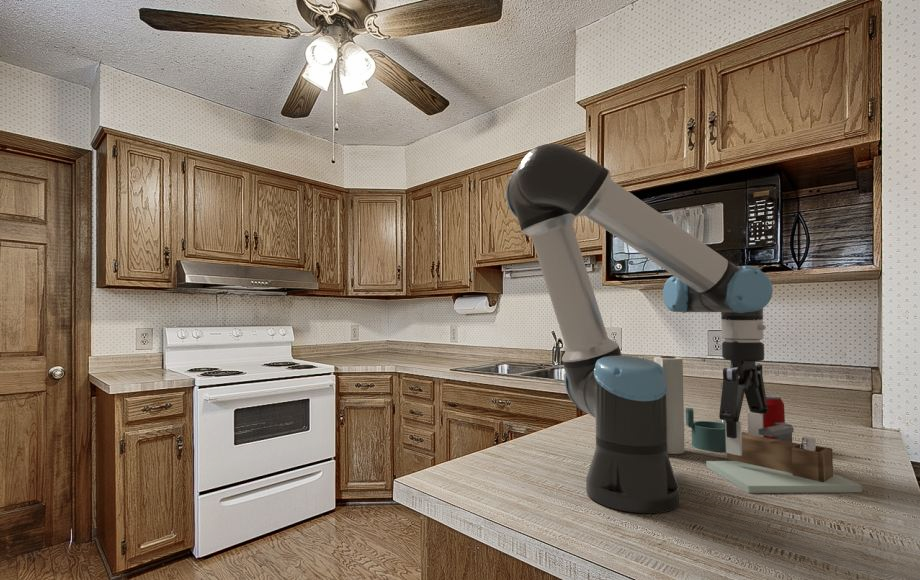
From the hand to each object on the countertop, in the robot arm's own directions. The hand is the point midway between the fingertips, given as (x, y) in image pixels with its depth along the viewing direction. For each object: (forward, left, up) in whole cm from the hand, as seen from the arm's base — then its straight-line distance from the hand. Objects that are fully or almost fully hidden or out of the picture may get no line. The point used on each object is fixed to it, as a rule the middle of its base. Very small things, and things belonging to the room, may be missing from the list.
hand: (745, 448), depth 98 cm
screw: (+12, +28, -4) cm, 30 cm away
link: (+3, -4, -2) cm, 6 cm away
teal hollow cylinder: (+1, +15, -4) cm, 15 cm away
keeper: (+5, -3, -4) cm, 6 cm away
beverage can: (+14, +14, -4) cm, 20 cm away
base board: (+2, -7, -4) cm, 8 cm away
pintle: (+7, -9, -2) cm, 11 cm away
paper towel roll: (-11, +11, -4) cm, 16 cm away
